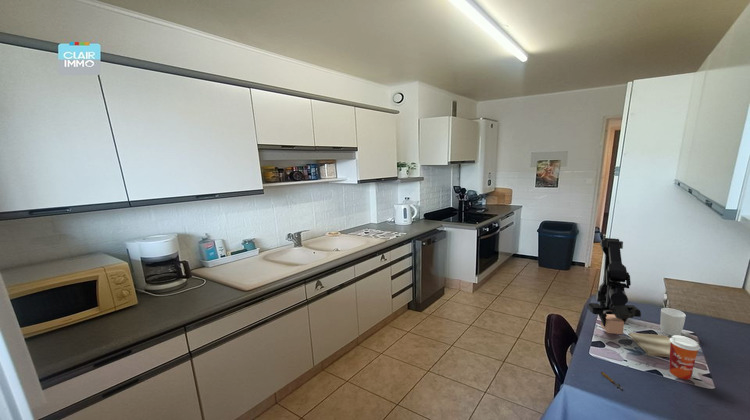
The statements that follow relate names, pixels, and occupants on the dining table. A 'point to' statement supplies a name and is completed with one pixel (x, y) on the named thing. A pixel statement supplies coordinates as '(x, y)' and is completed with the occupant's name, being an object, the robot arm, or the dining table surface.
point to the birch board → (653, 344)
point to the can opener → (611, 380)
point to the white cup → (672, 321)
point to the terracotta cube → (613, 324)
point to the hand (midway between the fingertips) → (611, 326)
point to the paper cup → (682, 356)
